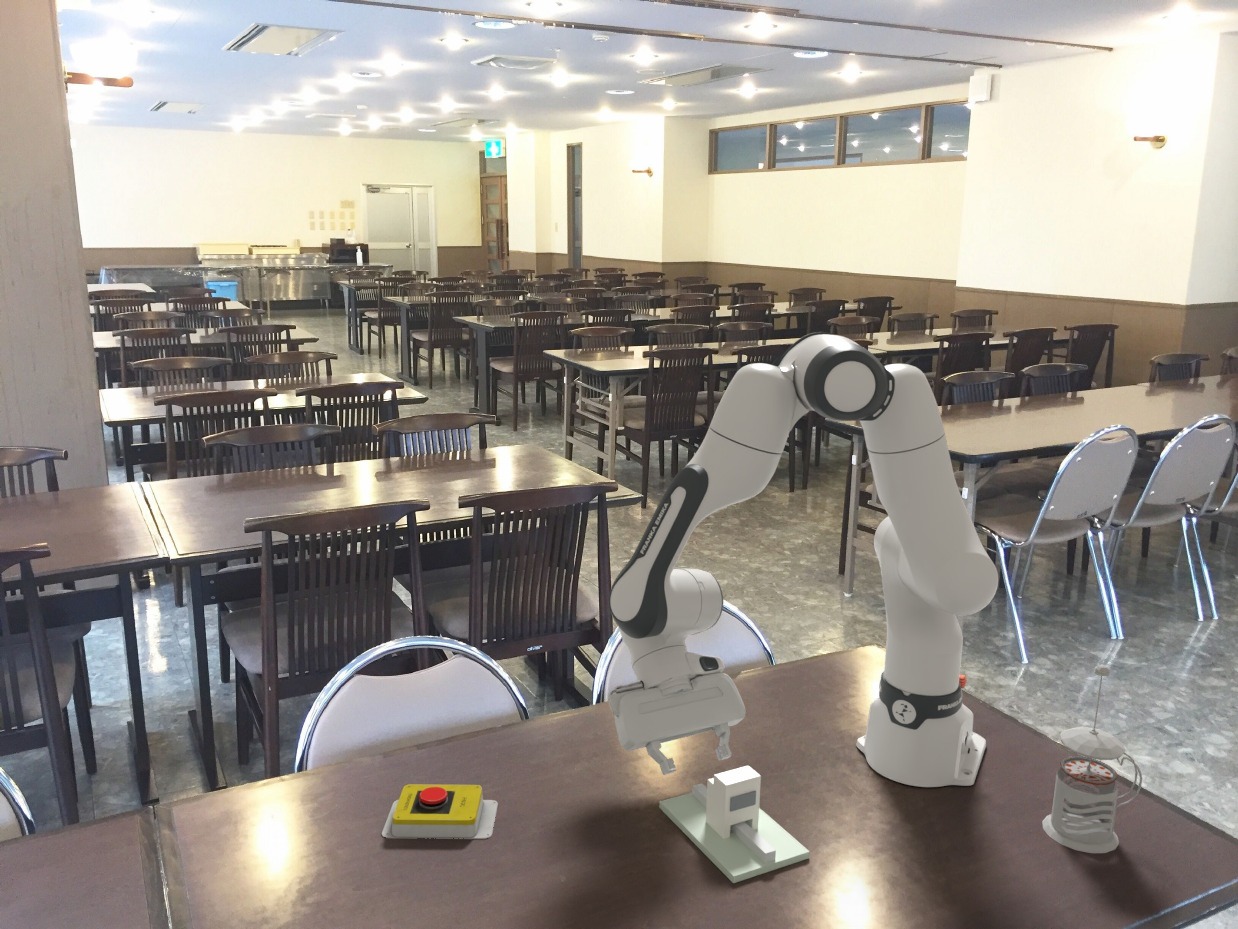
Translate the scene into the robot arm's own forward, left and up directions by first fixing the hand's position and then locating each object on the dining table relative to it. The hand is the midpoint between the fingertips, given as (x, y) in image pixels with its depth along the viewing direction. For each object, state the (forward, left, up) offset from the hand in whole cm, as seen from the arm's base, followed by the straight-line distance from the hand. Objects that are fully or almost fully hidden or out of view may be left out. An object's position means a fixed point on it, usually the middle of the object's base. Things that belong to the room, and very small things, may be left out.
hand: (698, 765), depth 142 cm
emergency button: (+27, -25, -6) cm, 37 cm away
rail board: (+3, +8, -6) cm, 10 cm away
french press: (-29, +46, -6) cm, 55 cm away
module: (+3, +8, -5) cm, 10 cm away
